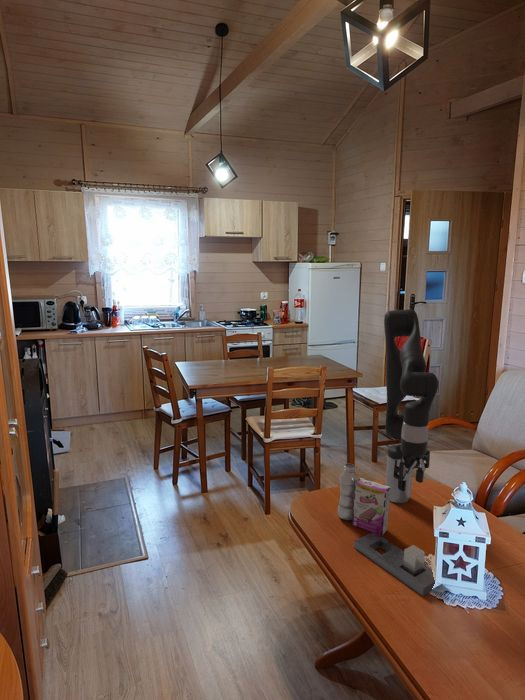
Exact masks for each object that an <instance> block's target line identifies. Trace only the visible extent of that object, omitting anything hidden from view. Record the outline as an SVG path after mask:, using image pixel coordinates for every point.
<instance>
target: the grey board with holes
mask: <svg viewBox="0 0 525 700" xmlns="http://www.w3.org/2000/svg"><path fill="white" fill-rule="evenodd" d="M353 543H354V544H353V547H354V549H355V550H357V551H358V552H359V553H361V554H362V555H364V556H365V557H367V558H368V559H369V560H370V561H373V563H375V564H376V565H378V566H380V567H381V568H382V569H383V570H385V571H386V572H387V573H389V574H390V575H392V576H393V577H395V578H396V579H398V580H399V581H400V582H402V583H403V584H404V585H406V586H407V587H409V588H410V589H412V591H414V592H416V593H417V594H419V596H421V597H424V596H426V595H427V594H429V593H431V592H432V591H433V590H432V588H433V586H434V584H435V580H434V577H433V572H432V568H431V567H429V566H427V564H425V563H424V566H423V573H421V574H419V575H418V576H416V577H414V576H412V575H411V574H409V573H408V572H406V571H405V570H403V561H404V550H403V549H401V548H400V547H398V546H397V545H395V544H393V543H392V542H390V541H389V540H388V539H386V538H384V537H383V536H381V535H378V534H377V533H375V532H370V533H368V534H366V535H362V536H361V537H359V538H357V539H355V540H354V542H353ZM379 548H380V549H382V550H384V551H385V553H383V554H382V553H380V552H378V551H377V550H376V549H379ZM431 590H432V591H431Z"/></svg>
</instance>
